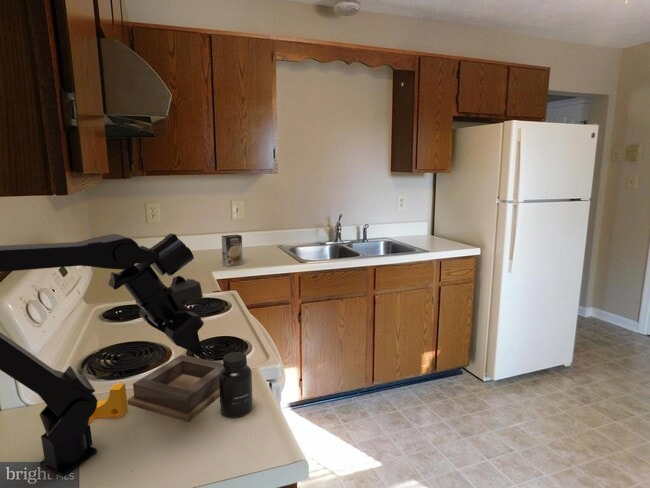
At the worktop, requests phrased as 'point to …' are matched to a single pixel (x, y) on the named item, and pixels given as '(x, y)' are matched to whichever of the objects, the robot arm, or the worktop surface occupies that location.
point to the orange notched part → (112, 404)
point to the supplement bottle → (235, 385)
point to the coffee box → (232, 250)
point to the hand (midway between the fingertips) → (190, 346)
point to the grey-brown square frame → (179, 387)
